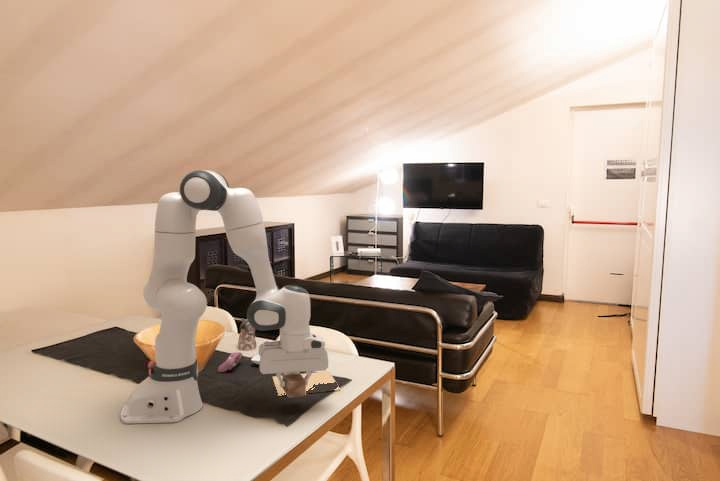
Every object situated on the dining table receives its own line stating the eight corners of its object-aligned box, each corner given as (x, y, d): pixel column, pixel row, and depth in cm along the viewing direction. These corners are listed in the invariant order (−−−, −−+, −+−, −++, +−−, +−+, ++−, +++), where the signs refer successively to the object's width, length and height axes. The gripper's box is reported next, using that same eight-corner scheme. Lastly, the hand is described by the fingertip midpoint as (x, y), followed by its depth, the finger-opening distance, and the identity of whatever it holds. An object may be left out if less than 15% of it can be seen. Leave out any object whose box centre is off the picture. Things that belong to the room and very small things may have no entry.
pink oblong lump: (226, 377, 181) (235, 361, 180) (215, 371, 181) (224, 354, 180) (238, 367, 191) (246, 351, 189) (228, 361, 191) (235, 345, 190)
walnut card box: (288, 397, 150) (289, 382, 149) (282, 387, 157) (282, 372, 156) (305, 395, 151) (305, 380, 151) (298, 385, 159) (298, 370, 158)
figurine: (247, 352, 202) (247, 322, 201) (234, 348, 206) (233, 319, 204) (260, 347, 208) (259, 318, 207) (246, 343, 212) (246, 315, 211)
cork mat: (278, 397, 162) (278, 395, 162) (272, 377, 178) (272, 376, 178) (340, 390, 168) (340, 389, 168) (329, 372, 183) (329, 371, 183)
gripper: (259, 345, 147) (258, 392, 148) (330, 342, 152) (328, 387, 154) (258, 338, 153) (257, 383, 155) (326, 336, 158) (324, 379, 160)
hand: (293, 385), depth 154 cm, fingers closed on walnut card box, 5 cm apart
